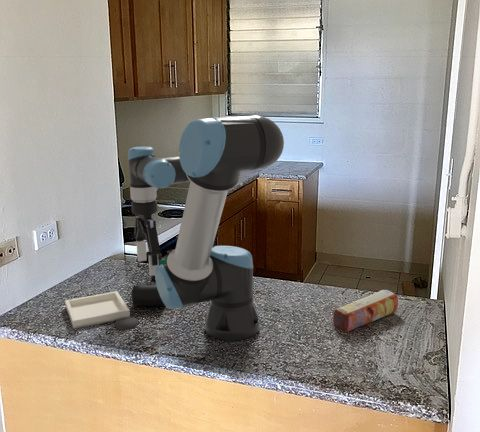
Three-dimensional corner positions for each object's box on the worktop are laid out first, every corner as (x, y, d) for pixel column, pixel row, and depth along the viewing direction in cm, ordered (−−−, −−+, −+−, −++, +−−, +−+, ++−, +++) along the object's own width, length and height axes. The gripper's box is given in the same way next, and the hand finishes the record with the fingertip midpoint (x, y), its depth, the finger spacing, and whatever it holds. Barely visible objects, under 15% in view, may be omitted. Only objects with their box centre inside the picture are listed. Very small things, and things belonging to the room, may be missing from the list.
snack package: (348, 335, 141) (348, 312, 140) (330, 326, 147) (331, 304, 145) (398, 314, 153) (400, 293, 152) (380, 307, 158) (381, 286, 157)
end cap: (132, 310, 159) (131, 289, 157) (136, 301, 166) (135, 281, 164) (165, 309, 159) (164, 288, 157) (168, 300, 166) (167, 280, 164)
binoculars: (163, 246, 189) (178, 249, 181) (166, 274, 190) (181, 279, 183) (141, 251, 183) (156, 255, 175) (145, 280, 185) (159, 285, 177)
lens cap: (140, 327, 148) (140, 324, 148) (117, 332, 146) (117, 329, 145) (134, 319, 154) (134, 315, 154) (112, 323, 151) (112, 320, 151)
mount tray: (129, 317, 154) (129, 310, 153) (73, 328, 147) (72, 321, 147) (117, 298, 168) (117, 291, 167) (65, 307, 161) (65, 300, 161)
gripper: (169, 207, 145) (172, 279, 150) (145, 190, 167) (148, 253, 172) (142, 210, 142) (147, 283, 147) (121, 192, 164) (126, 257, 169)
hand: (148, 267), depth 160 cm, fingers open, 13 cm apart
